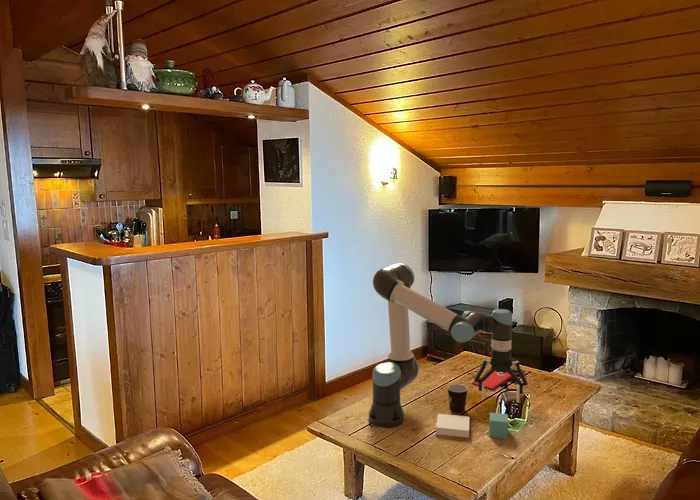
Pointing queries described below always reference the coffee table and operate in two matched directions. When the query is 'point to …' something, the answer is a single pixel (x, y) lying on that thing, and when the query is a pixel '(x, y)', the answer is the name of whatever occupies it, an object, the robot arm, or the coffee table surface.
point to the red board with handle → (498, 379)
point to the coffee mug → (457, 397)
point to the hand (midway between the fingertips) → (500, 400)
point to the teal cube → (498, 425)
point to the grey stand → (452, 425)
